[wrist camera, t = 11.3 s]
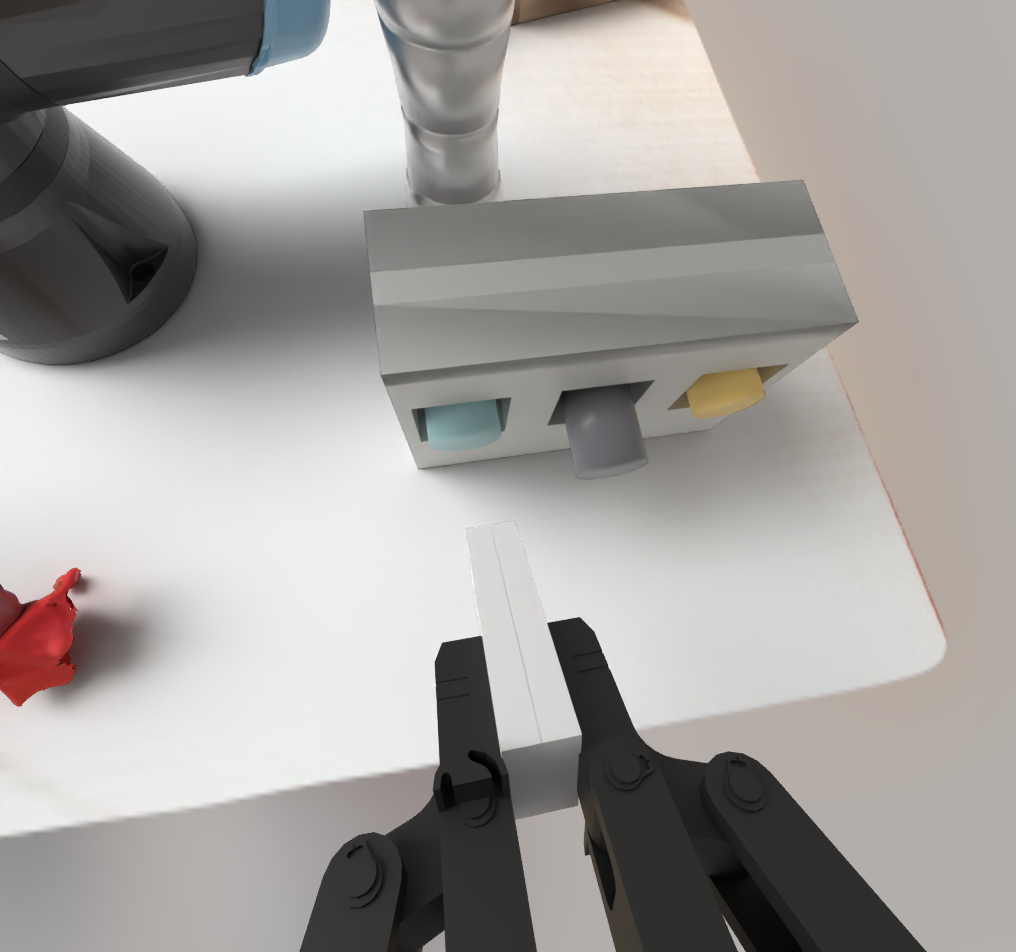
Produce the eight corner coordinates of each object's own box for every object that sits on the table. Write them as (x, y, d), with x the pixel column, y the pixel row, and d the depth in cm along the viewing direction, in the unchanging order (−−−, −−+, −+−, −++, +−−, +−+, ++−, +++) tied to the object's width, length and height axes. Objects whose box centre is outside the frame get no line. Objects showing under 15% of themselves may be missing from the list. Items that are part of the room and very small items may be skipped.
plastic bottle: (499, 268, 35) (534, -151, 15) (405, 260, 34) (321, -182, 15) (502, 197, 36) (539, -262, 17) (413, 189, 36) (348, -292, 17)
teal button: (499, 446, 25) (503, 421, 22) (431, 454, 25) (425, 430, 21) (485, 362, 26) (487, 326, 23) (420, 369, 26) (413, 333, 23)
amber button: (740, 414, 27) (780, 386, 23) (681, 421, 26) (713, 394, 23) (716, 336, 28) (751, 299, 25) (659, 342, 28) (686, 305, 24)
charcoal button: (634, 473, 25) (659, 453, 22) (569, 482, 25) (585, 463, 22) (614, 389, 27) (635, 357, 23) (552, 396, 26) (564, 365, 23)
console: (709, 429, 32) (859, 321, 20) (417, 468, 30) (380, 374, 18) (681, 333, 34) (803, 179, 22) (405, 363, 32) (363, 211, 20)
